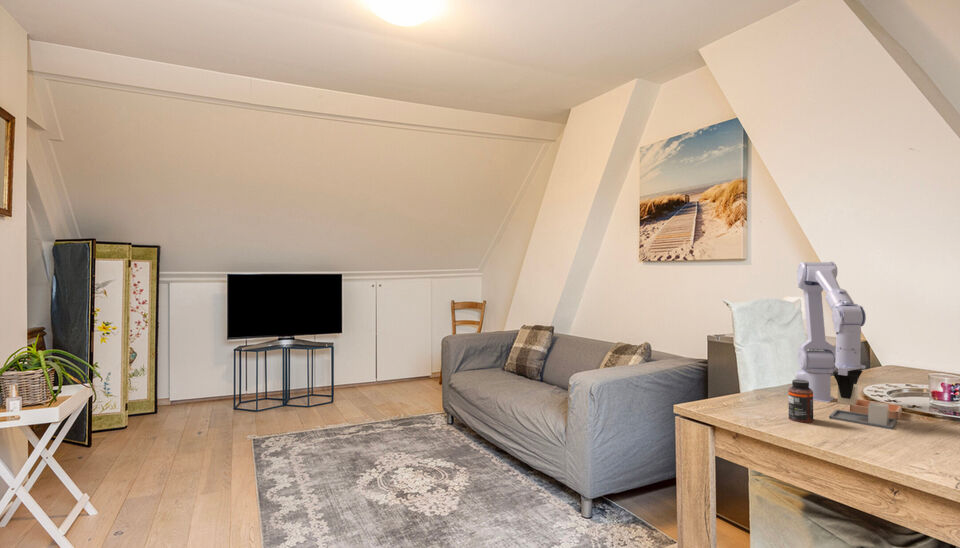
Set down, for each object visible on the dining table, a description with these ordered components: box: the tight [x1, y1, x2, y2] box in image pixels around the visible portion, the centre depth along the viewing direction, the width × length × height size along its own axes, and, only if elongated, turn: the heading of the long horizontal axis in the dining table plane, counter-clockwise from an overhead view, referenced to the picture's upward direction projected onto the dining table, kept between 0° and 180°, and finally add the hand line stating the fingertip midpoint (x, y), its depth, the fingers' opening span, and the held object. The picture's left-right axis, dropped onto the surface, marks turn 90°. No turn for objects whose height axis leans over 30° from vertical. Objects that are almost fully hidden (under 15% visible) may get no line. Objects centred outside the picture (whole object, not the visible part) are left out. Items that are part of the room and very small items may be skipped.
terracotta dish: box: [849, 398, 903, 421], centre depth 151 cm, size 11×9×2 cm
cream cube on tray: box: [868, 401, 890, 426], centre depth 142 cm, size 4×4×5 cm
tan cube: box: [837, 383, 859, 405], centre depth 147 cm, size 4×4×5 cm
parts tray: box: [828, 409, 898, 430], centre depth 144 cm, size 14×9×1 cm, turn 46°
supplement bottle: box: [787, 379, 814, 424], centre depth 145 cm, size 6×6×11 cm
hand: (847, 396), depth 147 cm, fingers closed on tan cube, 4 cm apart
